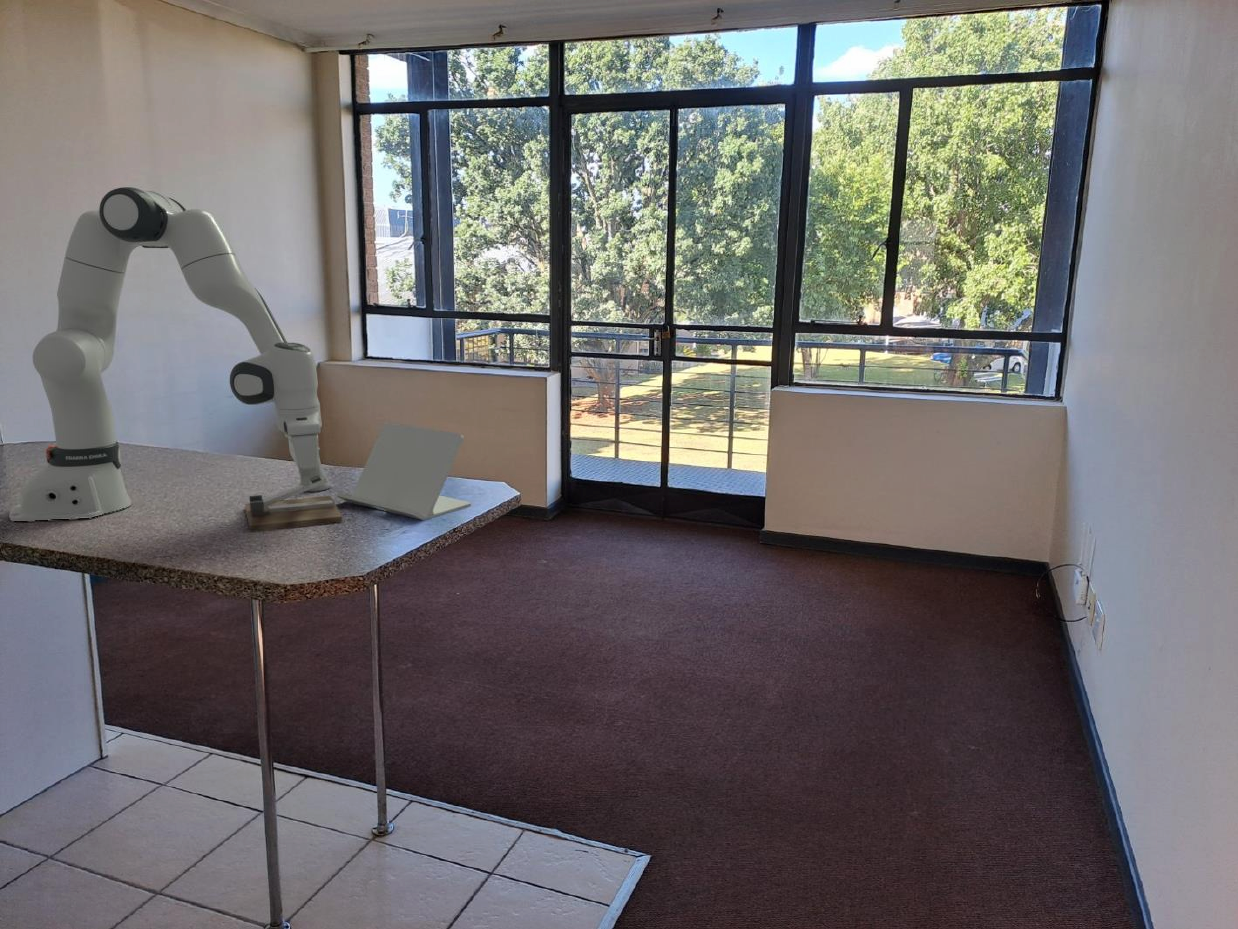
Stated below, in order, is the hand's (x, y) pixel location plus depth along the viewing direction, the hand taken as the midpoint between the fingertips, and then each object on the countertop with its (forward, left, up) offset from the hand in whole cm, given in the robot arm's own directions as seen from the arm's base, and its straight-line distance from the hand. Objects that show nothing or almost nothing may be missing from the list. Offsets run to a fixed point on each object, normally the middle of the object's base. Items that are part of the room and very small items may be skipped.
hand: (305, 483), depth 188 cm
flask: (+4, +22, -7) cm, 23 cm away
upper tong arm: (-3, 0, -3) cm, 4 cm away
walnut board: (-3, 0, -7) cm, 7 cm away
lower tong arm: (-3, 0, -6) cm, 6 cm away
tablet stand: (+21, 0, -7) cm, 22 cm away
